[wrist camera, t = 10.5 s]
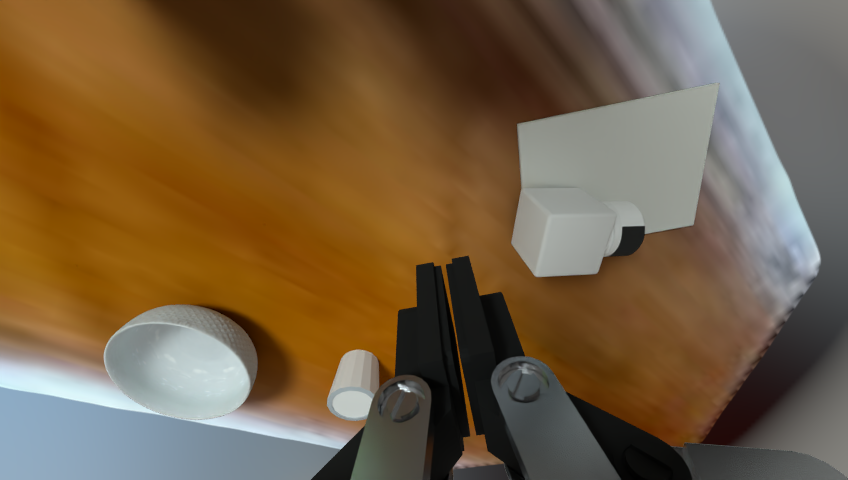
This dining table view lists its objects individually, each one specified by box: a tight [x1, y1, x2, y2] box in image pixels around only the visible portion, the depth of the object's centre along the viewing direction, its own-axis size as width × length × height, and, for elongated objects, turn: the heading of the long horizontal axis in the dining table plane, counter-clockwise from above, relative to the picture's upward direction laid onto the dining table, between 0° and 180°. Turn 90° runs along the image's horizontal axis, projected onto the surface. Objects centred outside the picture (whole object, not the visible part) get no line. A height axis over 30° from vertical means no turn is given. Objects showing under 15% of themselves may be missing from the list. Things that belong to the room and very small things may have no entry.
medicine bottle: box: [511, 188, 645, 277], centre depth 39 cm, size 7×7×12 cm
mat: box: [517, 83, 720, 234], centre depth 40 cm, size 16×20×1 cm
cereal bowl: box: [104, 304, 258, 420], centre depth 47 cm, size 17×17×7 cm
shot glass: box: [327, 350, 379, 421], centre depth 50 cm, size 7×7×7 cm
